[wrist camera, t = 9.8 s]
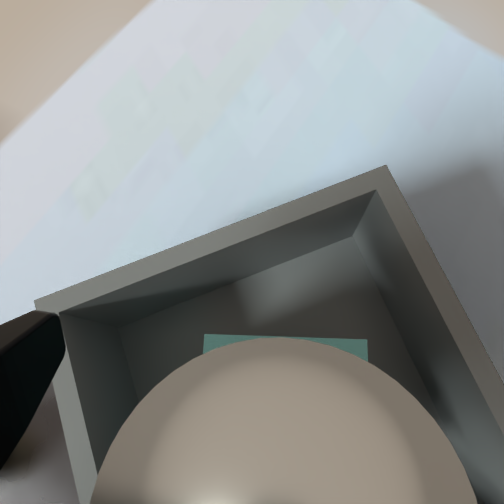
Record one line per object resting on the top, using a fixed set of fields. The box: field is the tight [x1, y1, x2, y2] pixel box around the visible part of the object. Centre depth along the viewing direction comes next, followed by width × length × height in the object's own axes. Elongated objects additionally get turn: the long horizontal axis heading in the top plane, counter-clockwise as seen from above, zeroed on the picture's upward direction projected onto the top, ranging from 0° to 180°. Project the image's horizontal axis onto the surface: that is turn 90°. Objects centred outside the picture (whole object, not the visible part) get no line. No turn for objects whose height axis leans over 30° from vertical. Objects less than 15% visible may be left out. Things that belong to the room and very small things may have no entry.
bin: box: [34, 165, 504, 504], centre depth 13 cm, size 11×11×5 cm
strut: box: [90, 334, 478, 504], centre depth 9 cm, size 4×4×12 cm
